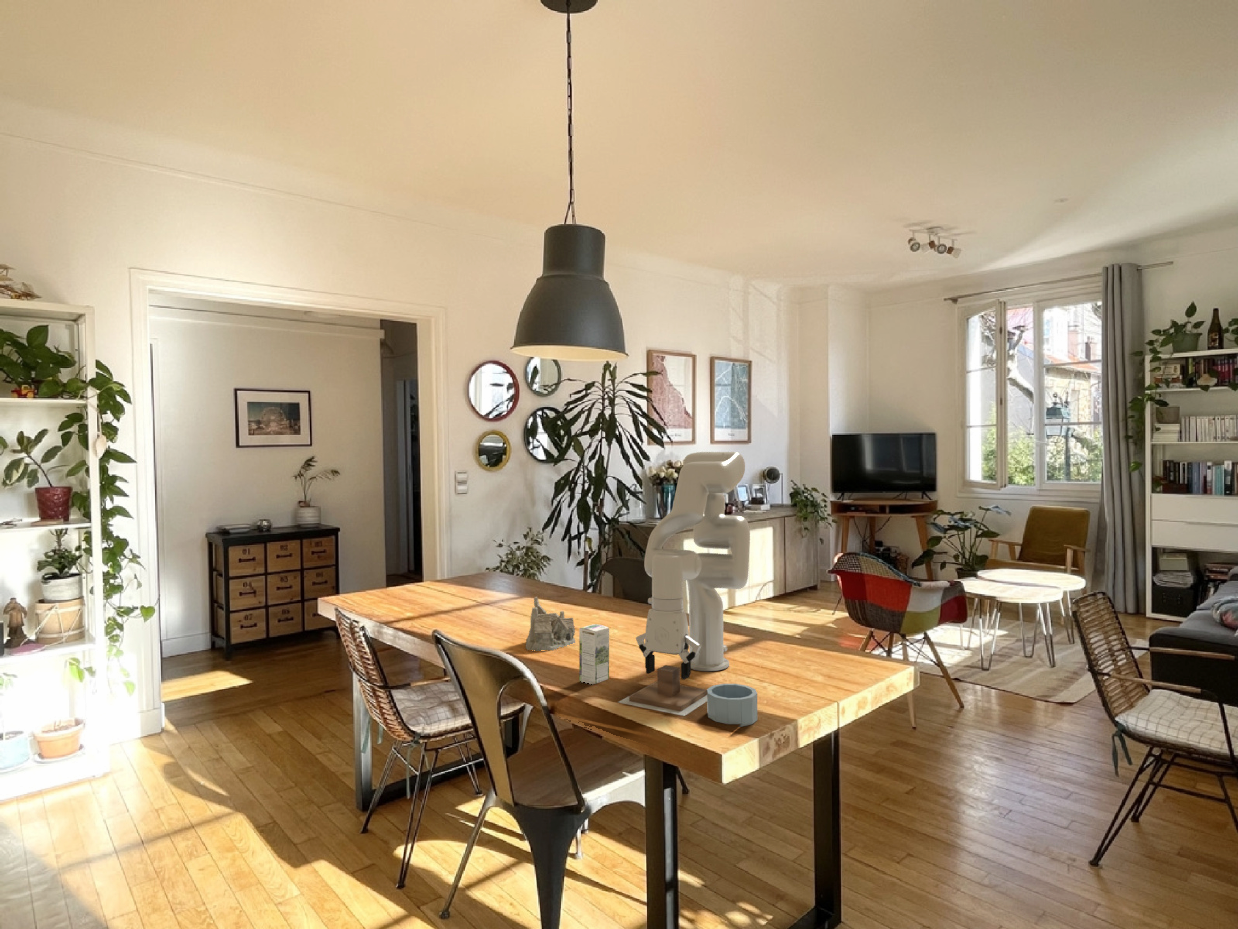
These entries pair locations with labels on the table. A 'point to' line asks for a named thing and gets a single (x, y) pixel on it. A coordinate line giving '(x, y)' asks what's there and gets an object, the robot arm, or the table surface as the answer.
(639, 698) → the walnut lid
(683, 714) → the grey mat
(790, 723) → the table surface
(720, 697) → the slate bowl
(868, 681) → the table surface
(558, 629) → the ceramic cottage
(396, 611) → the table surface
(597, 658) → the syrup box
